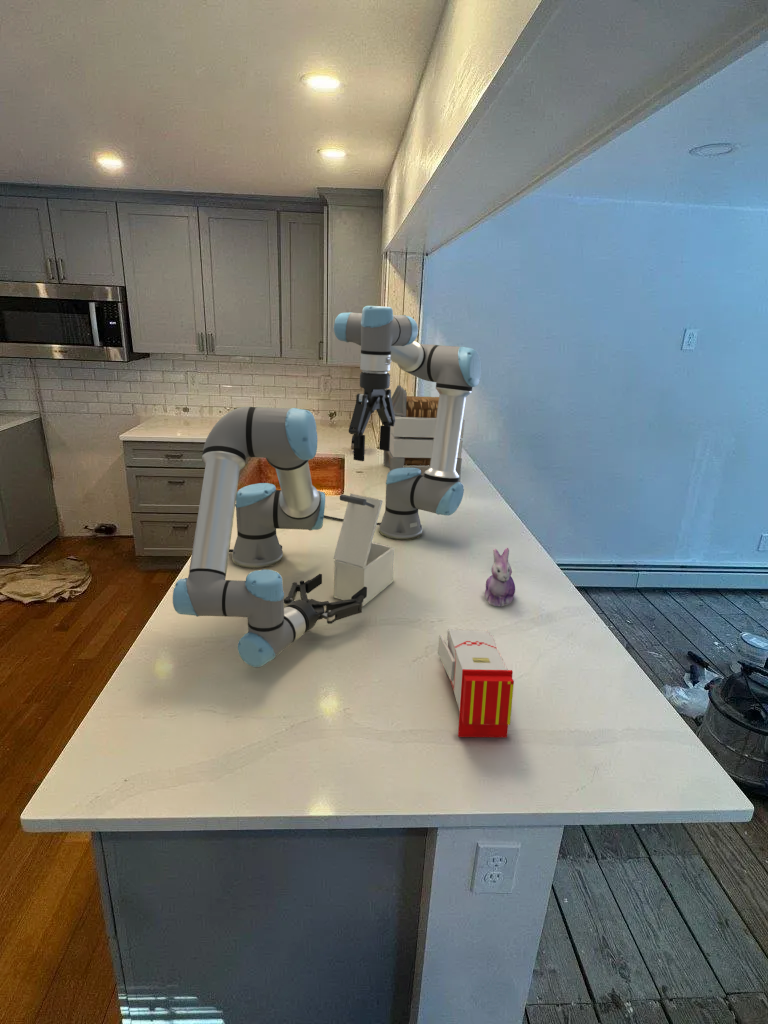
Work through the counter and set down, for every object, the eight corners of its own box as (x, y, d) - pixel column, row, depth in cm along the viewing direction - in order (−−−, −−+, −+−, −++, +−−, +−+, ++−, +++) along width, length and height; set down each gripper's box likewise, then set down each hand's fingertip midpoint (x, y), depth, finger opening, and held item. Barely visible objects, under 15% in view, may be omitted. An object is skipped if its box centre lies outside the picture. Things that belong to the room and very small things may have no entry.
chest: (365, 574, 169) (366, 540, 165) (392, 581, 165) (394, 547, 161) (333, 597, 154) (334, 561, 151) (363, 606, 150) (364, 569, 147)
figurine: (497, 611, 151) (503, 559, 146) (474, 594, 159) (479, 545, 154) (524, 604, 155) (532, 554, 150) (501, 588, 163) (507, 540, 158)
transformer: (382, 463, 289) (386, 382, 275) (445, 464, 293) (451, 384, 279) (390, 482, 257) (394, 392, 243) (460, 483, 261) (468, 394, 247)
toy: (488, 613, 130) (523, 677, 101) (484, 667, 133) (517, 744, 104) (435, 612, 130) (455, 676, 101) (432, 666, 133) (451, 743, 103)
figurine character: (362, 456, 306) (363, 447, 319) (363, 443, 302) (363, 434, 316) (350, 456, 306) (351, 446, 319) (350, 442, 302) (351, 433, 316)
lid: (352, 494, 152) (337, 487, 145) (382, 500, 148) (369, 494, 141) (335, 559, 151) (319, 556, 144) (365, 567, 147) (351, 564, 140)
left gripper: (251, 620, 136) (303, 585, 154) (340, 651, 125) (384, 610, 143) (250, 592, 133) (303, 560, 151) (340, 621, 123) (385, 583, 141)
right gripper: (362, 377, 129) (360, 467, 136) (410, 369, 150) (405, 448, 157) (335, 374, 132) (333, 462, 139) (385, 367, 153) (382, 444, 160)
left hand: (342, 584), depth 147 cm, fingers open, 13 cm apart
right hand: (372, 455), depth 148 cm, fingers open, 13 cm apart
